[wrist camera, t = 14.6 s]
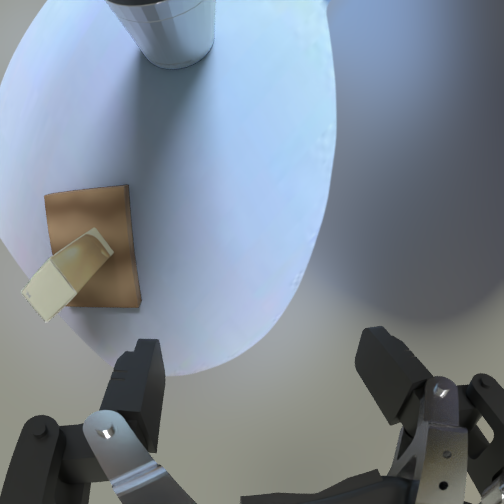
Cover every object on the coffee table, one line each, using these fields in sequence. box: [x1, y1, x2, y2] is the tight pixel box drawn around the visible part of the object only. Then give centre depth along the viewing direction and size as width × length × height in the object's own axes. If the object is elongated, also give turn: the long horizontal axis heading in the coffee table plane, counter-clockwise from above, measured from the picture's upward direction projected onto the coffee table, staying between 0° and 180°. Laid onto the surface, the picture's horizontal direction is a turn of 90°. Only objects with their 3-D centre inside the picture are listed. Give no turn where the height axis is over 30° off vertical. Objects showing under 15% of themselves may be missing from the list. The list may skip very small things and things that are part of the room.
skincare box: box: [21, 227, 114, 323], centre depth 27 cm, size 6×4×12 cm
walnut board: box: [44, 185, 142, 308], centre depth 34 cm, size 16×12×2 cm
